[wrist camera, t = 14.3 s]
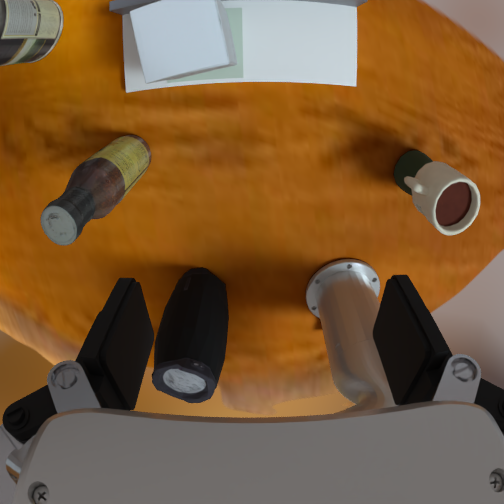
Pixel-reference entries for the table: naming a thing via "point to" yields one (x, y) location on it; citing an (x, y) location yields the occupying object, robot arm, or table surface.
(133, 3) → the rail
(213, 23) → the supplement box
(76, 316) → the table surface
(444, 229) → the character mug
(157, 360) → the portable speaker
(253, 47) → the shelf board
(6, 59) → the coffee can
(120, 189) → the sauce bottle
